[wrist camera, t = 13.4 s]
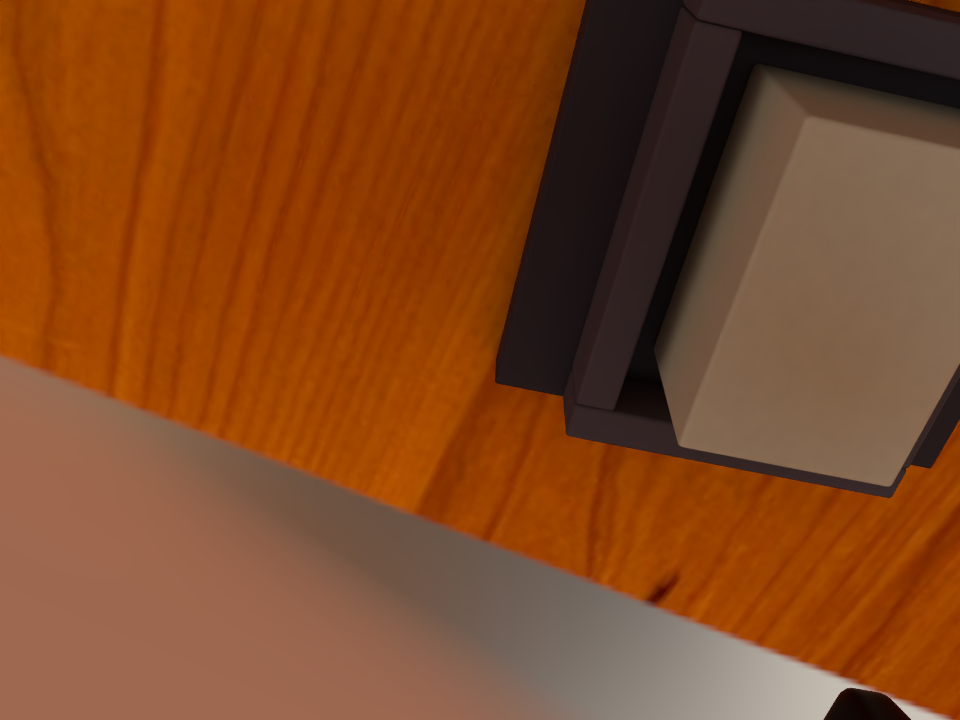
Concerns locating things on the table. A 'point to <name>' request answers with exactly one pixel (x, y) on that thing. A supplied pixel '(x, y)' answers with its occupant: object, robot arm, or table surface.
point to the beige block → (820, 281)
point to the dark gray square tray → (680, 191)
